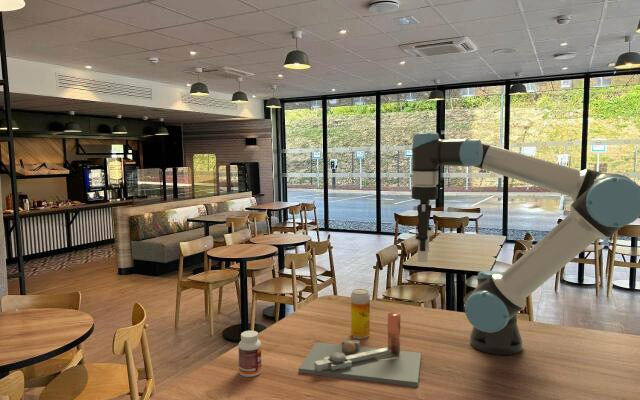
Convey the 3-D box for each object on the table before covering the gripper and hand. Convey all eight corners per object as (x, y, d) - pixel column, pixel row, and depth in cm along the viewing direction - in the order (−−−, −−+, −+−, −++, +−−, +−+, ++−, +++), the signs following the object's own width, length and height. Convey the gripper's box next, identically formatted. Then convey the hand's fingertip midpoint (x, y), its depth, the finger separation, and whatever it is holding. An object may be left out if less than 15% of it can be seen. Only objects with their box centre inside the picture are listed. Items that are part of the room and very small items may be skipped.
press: (421, 356, 138) (421, 341, 138) (417, 386, 121) (417, 369, 120) (316, 345, 146) (315, 331, 146) (298, 372, 129) (298, 355, 128)
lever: (320, 374, 125) (320, 332, 124) (311, 365, 130) (311, 325, 129) (404, 354, 136) (404, 316, 135) (393, 347, 141) (394, 310, 140)
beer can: (368, 340, 150) (368, 294, 148) (349, 338, 151) (349, 293, 150) (370, 333, 156) (370, 289, 154) (352, 331, 157) (352, 288, 156)
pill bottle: (263, 376, 127) (262, 337, 126) (239, 379, 126) (238, 339, 124) (260, 365, 133) (259, 328, 132) (238, 368, 132) (237, 330, 130)
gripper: (414, 182, 151) (413, 247, 154) (408, 189, 127) (407, 265, 130) (438, 182, 149) (437, 248, 152) (437, 189, 125) (435, 267, 128)
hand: (423, 256), depth 141 cm, fingers open, 13 cm apart
